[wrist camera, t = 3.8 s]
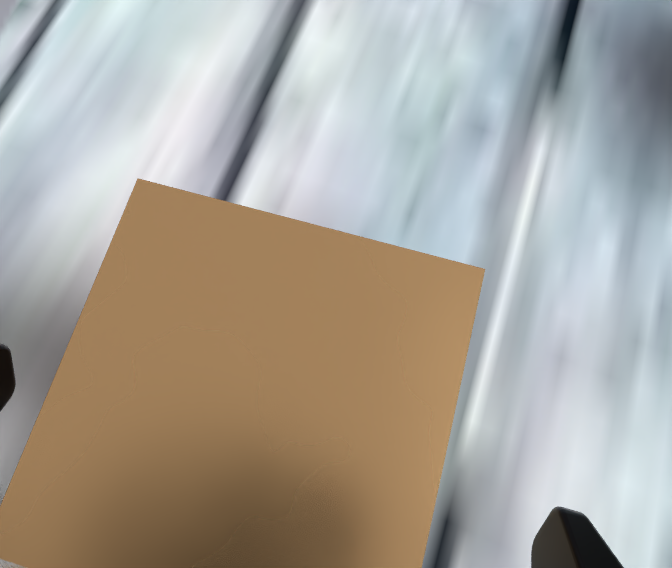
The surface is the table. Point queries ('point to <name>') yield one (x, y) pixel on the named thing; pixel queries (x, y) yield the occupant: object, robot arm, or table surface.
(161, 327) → the tan tall block
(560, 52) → the table surface
